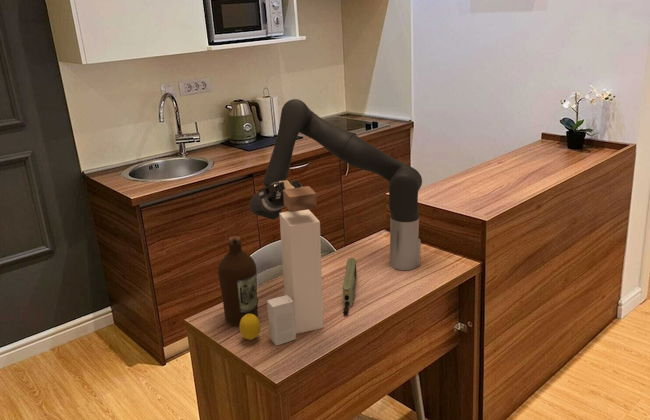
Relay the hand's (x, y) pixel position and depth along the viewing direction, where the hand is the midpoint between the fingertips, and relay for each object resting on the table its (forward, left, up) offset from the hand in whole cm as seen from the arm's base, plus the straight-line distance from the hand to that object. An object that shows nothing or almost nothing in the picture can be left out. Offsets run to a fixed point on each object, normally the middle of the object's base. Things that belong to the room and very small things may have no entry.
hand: (288, 184), depth 157 cm
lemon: (+16, +12, -38) cm, 43 cm away
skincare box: (+8, +15, -39) cm, 42 cm away
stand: (0, +9, -38) cm, 39 cm away
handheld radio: (-18, 0, -39) cm, 43 cm away
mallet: (0, +4, -3) cm, 5 cm away
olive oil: (+16, 0, -38) cm, 42 cm away
